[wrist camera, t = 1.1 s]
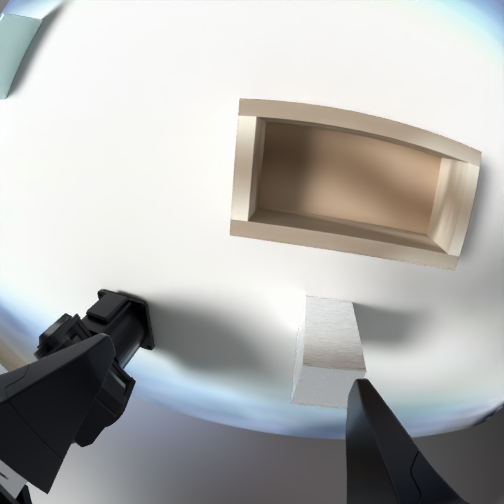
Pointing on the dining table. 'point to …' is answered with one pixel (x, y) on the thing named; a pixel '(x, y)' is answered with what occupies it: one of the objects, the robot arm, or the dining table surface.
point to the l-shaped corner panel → (14, 46)
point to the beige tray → (351, 183)
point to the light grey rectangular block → (327, 354)
